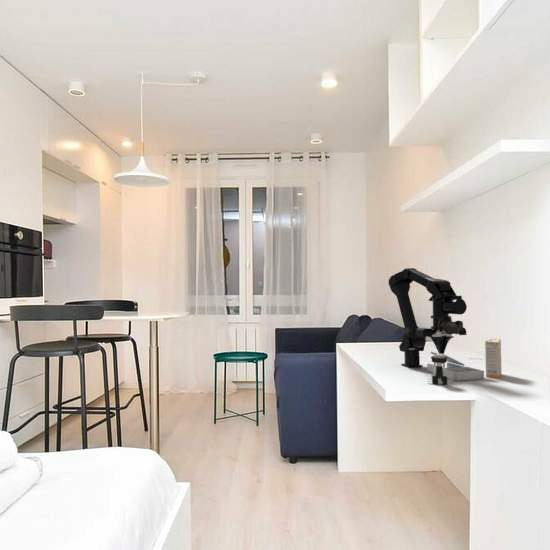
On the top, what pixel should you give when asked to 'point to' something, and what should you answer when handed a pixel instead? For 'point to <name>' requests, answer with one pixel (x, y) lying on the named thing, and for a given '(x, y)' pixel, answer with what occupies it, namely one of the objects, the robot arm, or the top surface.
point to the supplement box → (493, 358)
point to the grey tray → (459, 372)
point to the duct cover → (451, 360)
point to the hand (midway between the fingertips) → (441, 354)
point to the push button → (439, 369)
